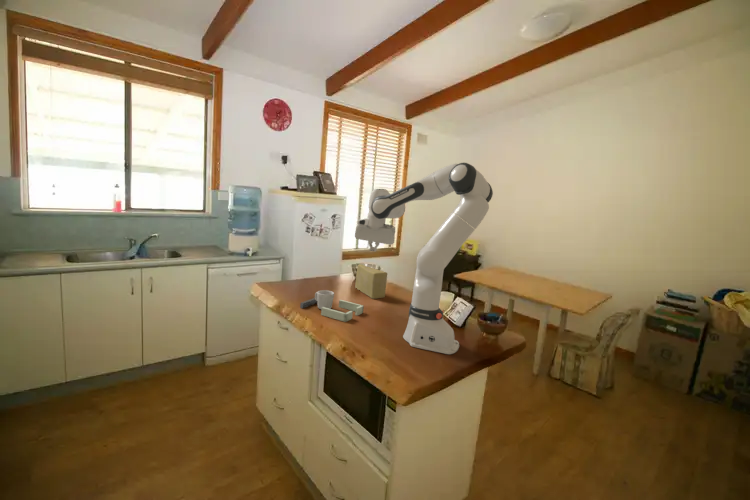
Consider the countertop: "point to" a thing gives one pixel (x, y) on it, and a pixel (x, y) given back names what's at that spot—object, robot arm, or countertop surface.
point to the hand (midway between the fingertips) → (373, 250)
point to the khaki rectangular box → (371, 281)
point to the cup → (324, 298)
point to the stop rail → (308, 303)
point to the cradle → (341, 315)
